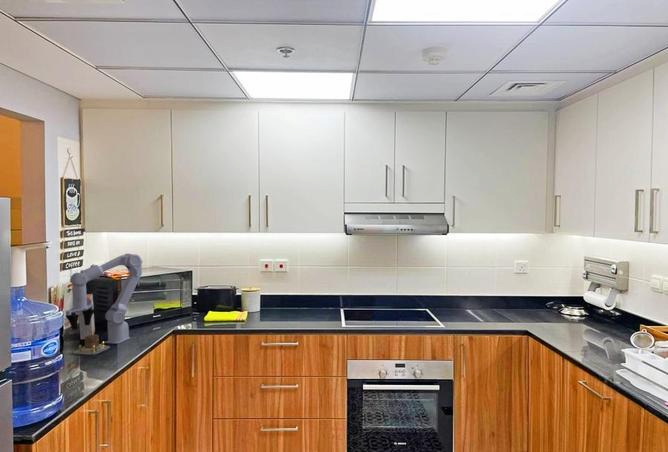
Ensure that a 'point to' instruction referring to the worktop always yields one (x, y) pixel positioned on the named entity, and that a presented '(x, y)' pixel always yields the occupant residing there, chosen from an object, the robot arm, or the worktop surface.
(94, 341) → the brown boxy piece
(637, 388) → the worktop surface
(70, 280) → the robot arm
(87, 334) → the cracker box
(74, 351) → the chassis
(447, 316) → the worktop surface
